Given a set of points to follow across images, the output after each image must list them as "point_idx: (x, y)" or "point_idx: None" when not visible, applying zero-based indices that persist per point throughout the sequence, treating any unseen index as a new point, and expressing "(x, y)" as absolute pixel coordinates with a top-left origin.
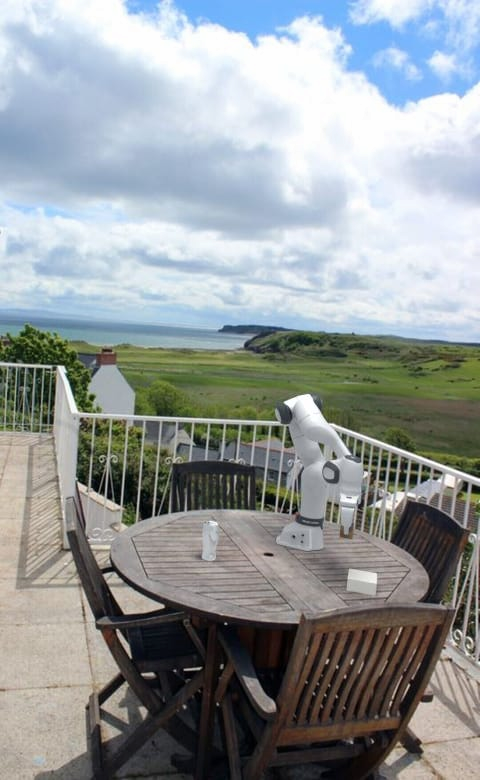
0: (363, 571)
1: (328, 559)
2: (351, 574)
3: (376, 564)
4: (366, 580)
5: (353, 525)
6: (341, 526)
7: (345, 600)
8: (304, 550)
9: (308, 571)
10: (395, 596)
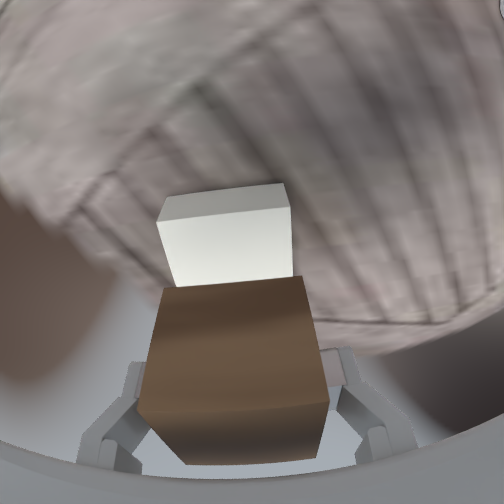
0: (286, 263)
1: (467, 90)
2: (216, 227)
3: (464, 252)
4: (191, 284)
5: (228, 464)
6: (145, 400)
7: (83, 213)
8: (501, 2)
9: (282, 7)
10: None
